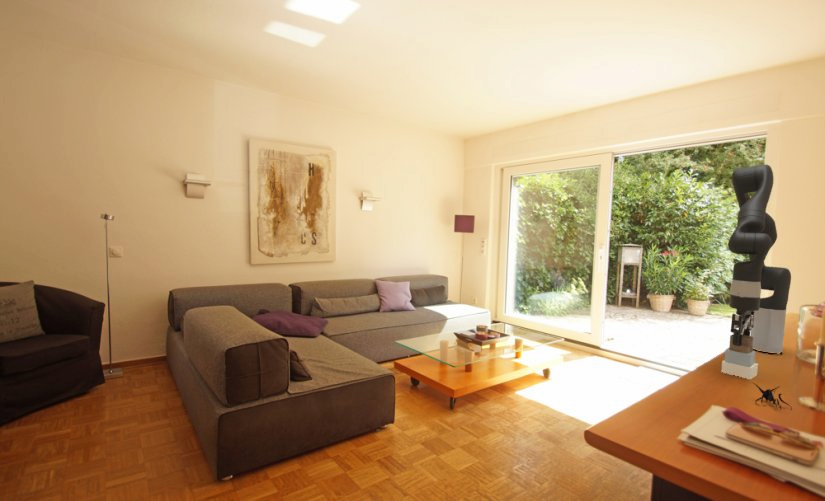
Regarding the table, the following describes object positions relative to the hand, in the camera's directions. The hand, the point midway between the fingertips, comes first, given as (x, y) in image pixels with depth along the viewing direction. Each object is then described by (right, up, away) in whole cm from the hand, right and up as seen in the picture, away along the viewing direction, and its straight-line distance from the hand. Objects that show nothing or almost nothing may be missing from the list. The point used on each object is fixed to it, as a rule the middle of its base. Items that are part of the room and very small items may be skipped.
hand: (741, 343), depth 131 cm
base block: (0, -10, +1) cm, 10 cm away
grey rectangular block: (0, -6, 0) cm, 6 cm away
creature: (-11, -12, -23) cm, 28 cm away
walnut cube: (0, -2, 0) cm, 2 cm away
